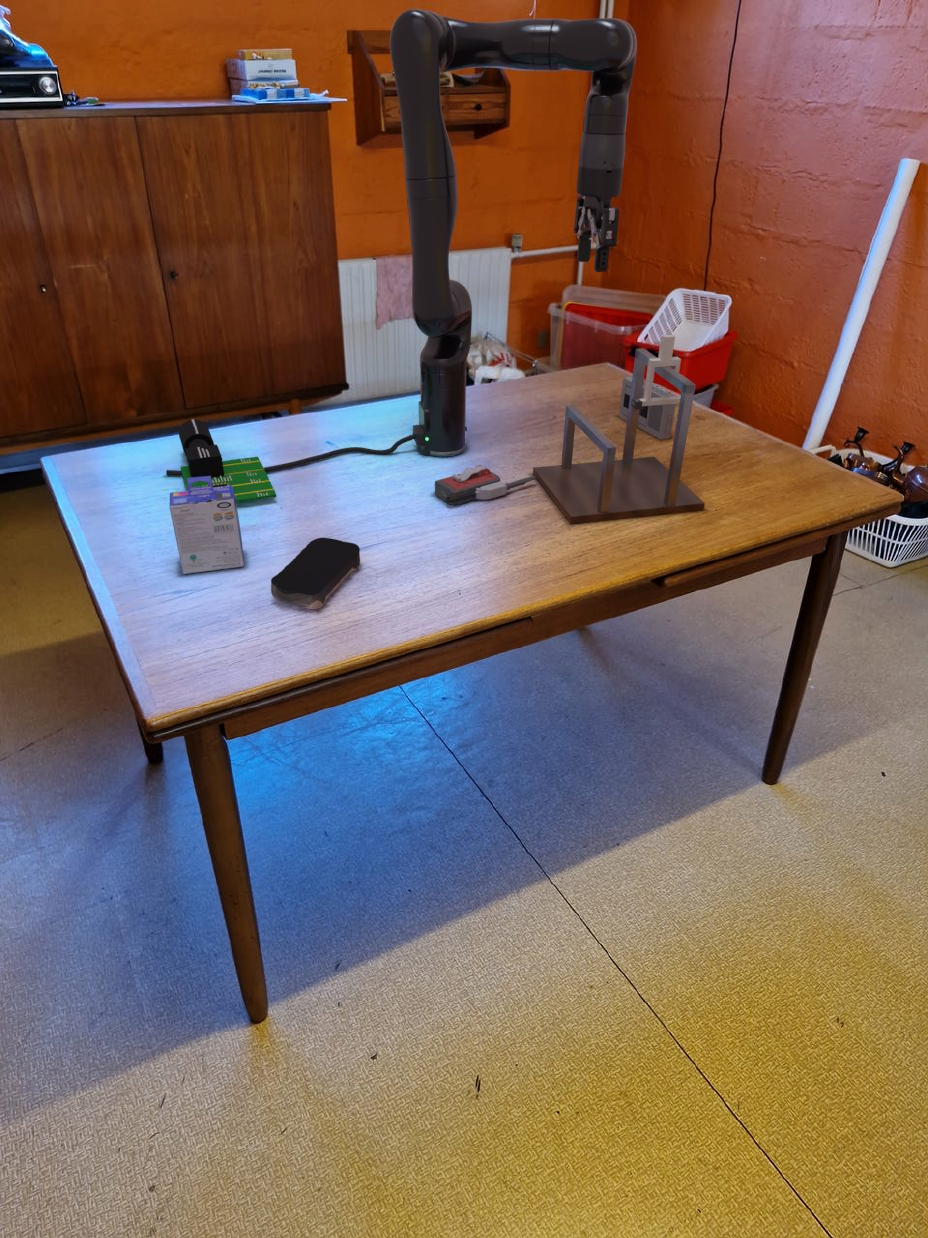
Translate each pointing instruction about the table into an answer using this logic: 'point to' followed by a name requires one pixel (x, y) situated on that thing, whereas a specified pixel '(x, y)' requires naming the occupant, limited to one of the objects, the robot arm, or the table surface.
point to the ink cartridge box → (206, 527)
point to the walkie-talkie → (474, 485)
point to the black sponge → (316, 572)
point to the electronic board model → (221, 465)
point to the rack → (622, 465)
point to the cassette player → (649, 410)
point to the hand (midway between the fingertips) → (591, 266)
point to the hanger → (661, 361)
